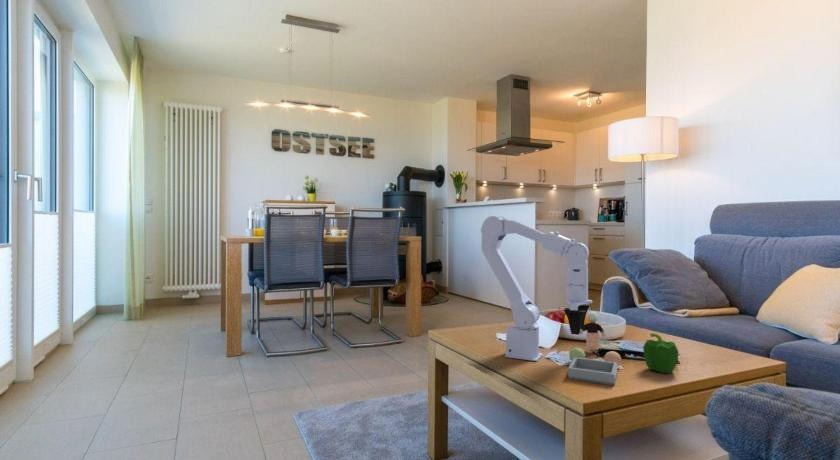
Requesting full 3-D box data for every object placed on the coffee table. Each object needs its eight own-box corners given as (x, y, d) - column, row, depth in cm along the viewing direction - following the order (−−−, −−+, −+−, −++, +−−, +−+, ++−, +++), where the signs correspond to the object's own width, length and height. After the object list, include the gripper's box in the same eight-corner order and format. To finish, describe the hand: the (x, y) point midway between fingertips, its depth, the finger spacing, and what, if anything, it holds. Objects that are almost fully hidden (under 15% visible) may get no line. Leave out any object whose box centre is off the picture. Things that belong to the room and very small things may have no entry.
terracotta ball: (603, 368, 126) (603, 352, 126) (604, 364, 130) (605, 348, 130) (620, 370, 124) (620, 354, 124) (621, 366, 128) (621, 350, 128)
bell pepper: (684, 372, 123) (684, 335, 123) (667, 377, 118) (668, 339, 118) (654, 364, 130) (654, 329, 130) (637, 368, 125) (637, 333, 125)
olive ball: (567, 363, 130) (567, 348, 130) (570, 359, 134) (570, 345, 134) (583, 366, 128) (584, 350, 128) (585, 362, 132) (586, 346, 132)
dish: (568, 378, 117) (568, 368, 117) (574, 367, 127) (574, 357, 127) (614, 385, 112) (614, 374, 112) (617, 373, 122) (617, 362, 122)
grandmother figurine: (602, 350, 144) (602, 310, 144) (606, 353, 140) (606, 313, 140) (577, 349, 145) (578, 310, 145) (580, 353, 141) (581, 312, 141)
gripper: (589, 288, 122) (588, 338, 122) (594, 282, 135) (594, 327, 135) (562, 286, 126) (561, 335, 126) (570, 281, 138) (570, 325, 139)
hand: (577, 331), depth 131 cm, fingers open, 7 cm apart
